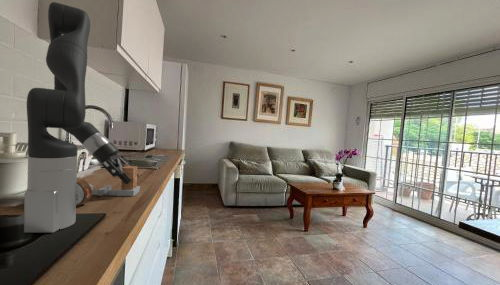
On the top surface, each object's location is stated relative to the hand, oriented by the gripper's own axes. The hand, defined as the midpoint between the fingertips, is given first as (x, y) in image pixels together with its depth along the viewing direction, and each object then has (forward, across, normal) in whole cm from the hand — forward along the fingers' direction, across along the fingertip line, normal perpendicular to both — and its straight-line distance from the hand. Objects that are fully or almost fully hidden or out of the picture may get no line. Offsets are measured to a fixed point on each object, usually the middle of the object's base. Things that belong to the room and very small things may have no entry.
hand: (133, 179), depth 88 cm
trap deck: (-3, 0, +11) cm, 11 cm away
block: (+1, 0, +3) cm, 3 cm away
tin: (-7, -14, +14) cm, 21 cm away
